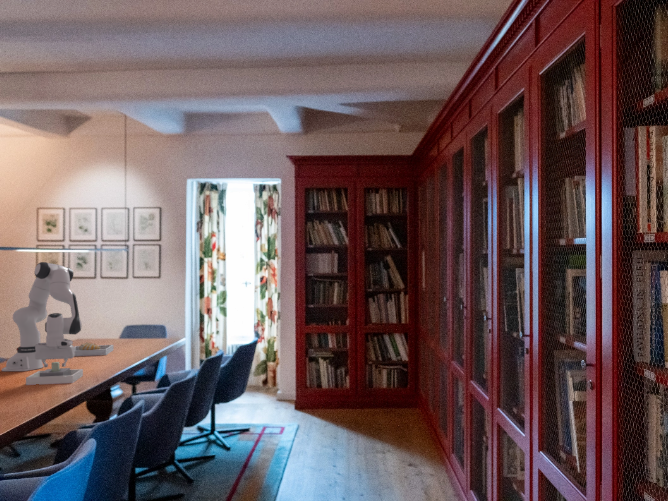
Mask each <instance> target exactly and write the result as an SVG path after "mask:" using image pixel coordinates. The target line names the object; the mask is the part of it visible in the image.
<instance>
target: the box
mask: <svg viewBox="0 0 668 501" xmlns="http://www.w3.org/2000/svg"><path fill="white" fill-rule="evenodd" d="M82 377H84V369H83V368H79V369H78V368H77V369H74V368H73V369H71V367H65V368H64V367H62V368H61V367H59V371H55V372H52V368H47V369H45V370H38V371H36V372H34V373H32V374H30V375H28V376H26V377H25V386H33V385H35V386H37V385H36V384H39V385H56V384H59V385H60V384H73V383H75V382H76V381H78V380H80V378H81V379H82Z"/></svg>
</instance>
